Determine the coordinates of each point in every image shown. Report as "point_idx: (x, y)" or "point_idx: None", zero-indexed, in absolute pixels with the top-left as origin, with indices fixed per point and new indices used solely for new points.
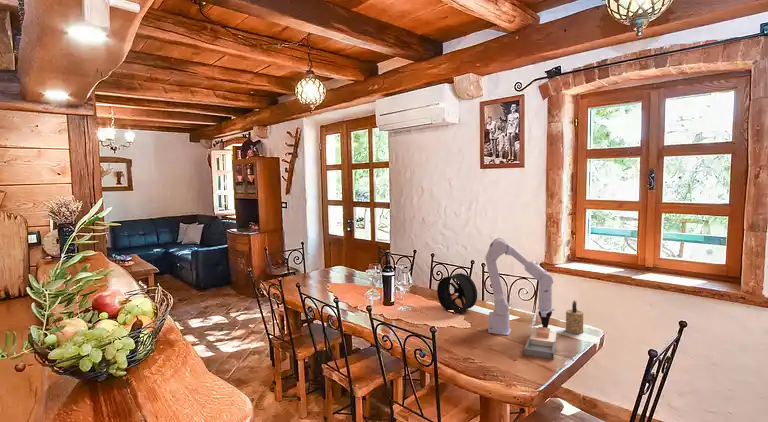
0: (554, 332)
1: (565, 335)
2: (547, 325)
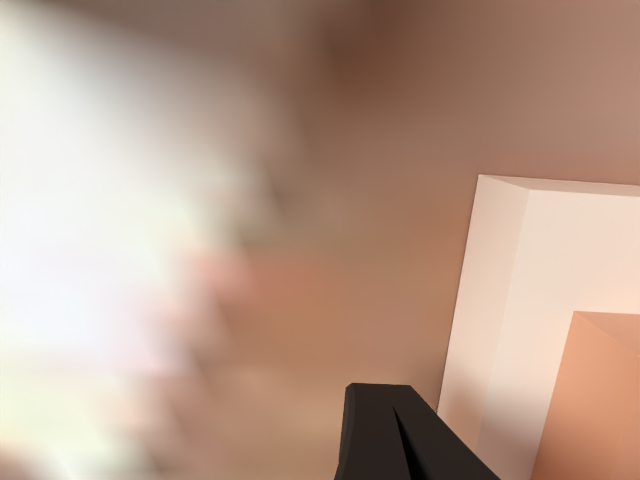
0: (560, 230)
1: (335, 5)
2: (437, 423)
